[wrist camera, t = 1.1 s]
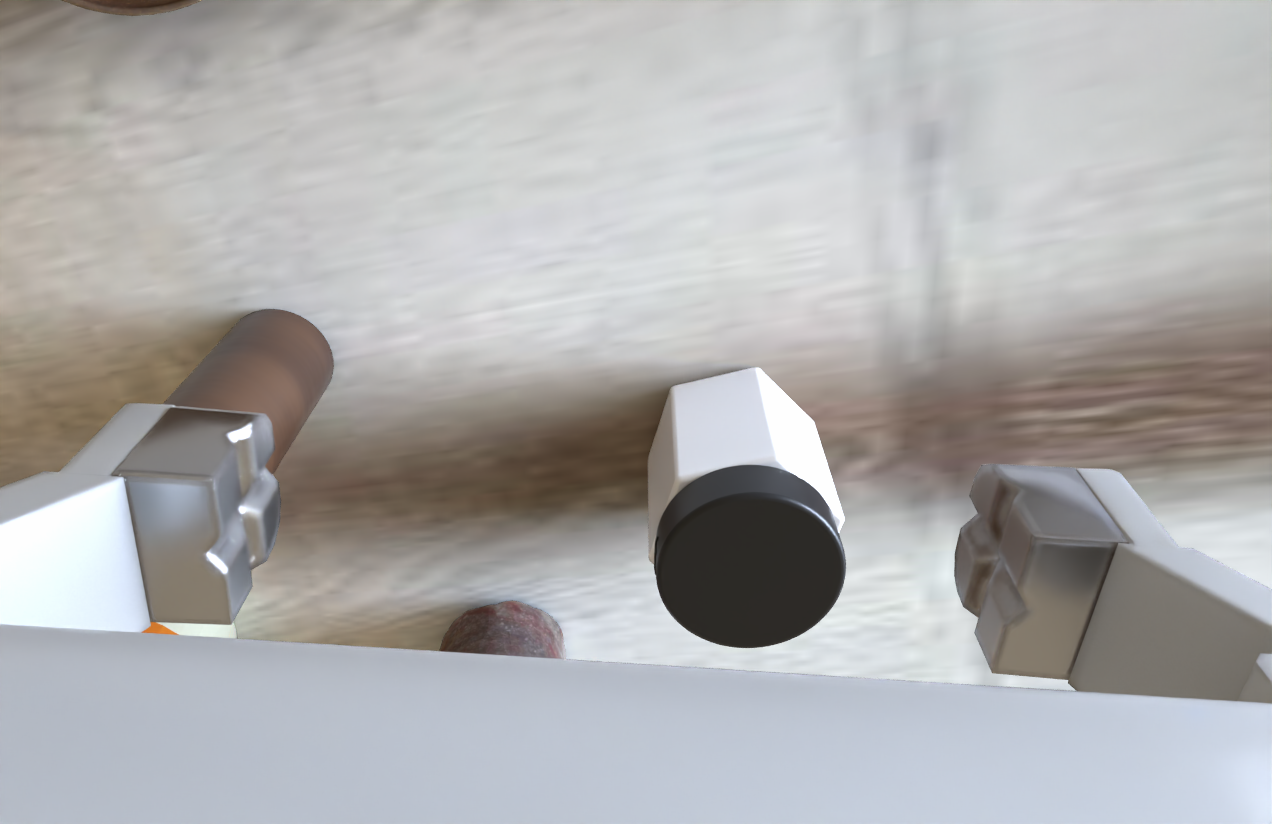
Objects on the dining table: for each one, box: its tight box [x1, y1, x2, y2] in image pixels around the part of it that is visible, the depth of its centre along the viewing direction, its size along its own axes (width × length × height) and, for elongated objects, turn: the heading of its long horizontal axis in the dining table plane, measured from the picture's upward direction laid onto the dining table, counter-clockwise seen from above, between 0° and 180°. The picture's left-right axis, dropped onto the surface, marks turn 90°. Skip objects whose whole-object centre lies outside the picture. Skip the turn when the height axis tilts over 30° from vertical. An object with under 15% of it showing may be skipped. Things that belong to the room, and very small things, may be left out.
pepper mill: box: [163, 309, 334, 475], centre depth 46 cm, size 5×5×15 cm
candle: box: [440, 601, 566, 659], centre depth 52 cm, size 8×7×20 cm
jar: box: [648, 367, 846, 648], centre depth 49 cm, size 9×8×12 cm
